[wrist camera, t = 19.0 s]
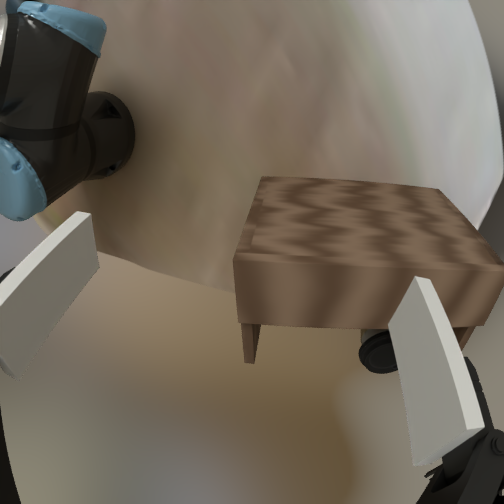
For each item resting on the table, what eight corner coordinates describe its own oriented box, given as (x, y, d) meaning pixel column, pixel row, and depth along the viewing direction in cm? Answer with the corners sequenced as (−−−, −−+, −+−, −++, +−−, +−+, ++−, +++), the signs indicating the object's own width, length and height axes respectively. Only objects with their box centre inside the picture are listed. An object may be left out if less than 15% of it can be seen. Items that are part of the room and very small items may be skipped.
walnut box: (263, 265, 54) (242, 370, 35) (261, 176, 45) (232, 259, 27) (417, 272, 50) (456, 370, 31) (438, 189, 41) (509, 271, 23)
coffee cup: (384, 318, 57) (397, 379, 44) (343, 309, 57) (349, 372, 44) (407, 283, 52) (428, 344, 39) (363, 271, 52) (378, 334, 39)
